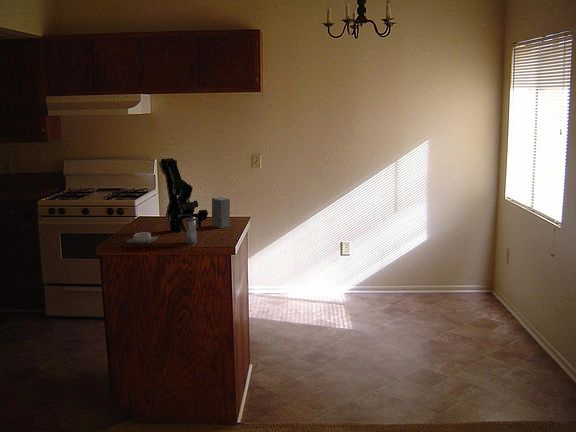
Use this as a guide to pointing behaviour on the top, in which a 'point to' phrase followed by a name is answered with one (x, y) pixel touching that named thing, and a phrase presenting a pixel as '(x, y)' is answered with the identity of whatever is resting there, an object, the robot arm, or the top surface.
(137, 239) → the dock
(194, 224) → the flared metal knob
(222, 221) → the skincare box
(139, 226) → the top surface
